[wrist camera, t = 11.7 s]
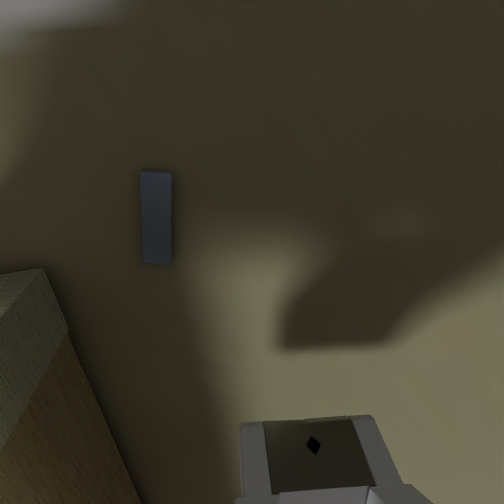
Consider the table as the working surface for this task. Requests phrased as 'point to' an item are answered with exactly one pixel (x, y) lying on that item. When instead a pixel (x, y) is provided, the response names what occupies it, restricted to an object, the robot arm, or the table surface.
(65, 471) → the cam lever
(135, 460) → the table surface
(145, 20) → the table surface
